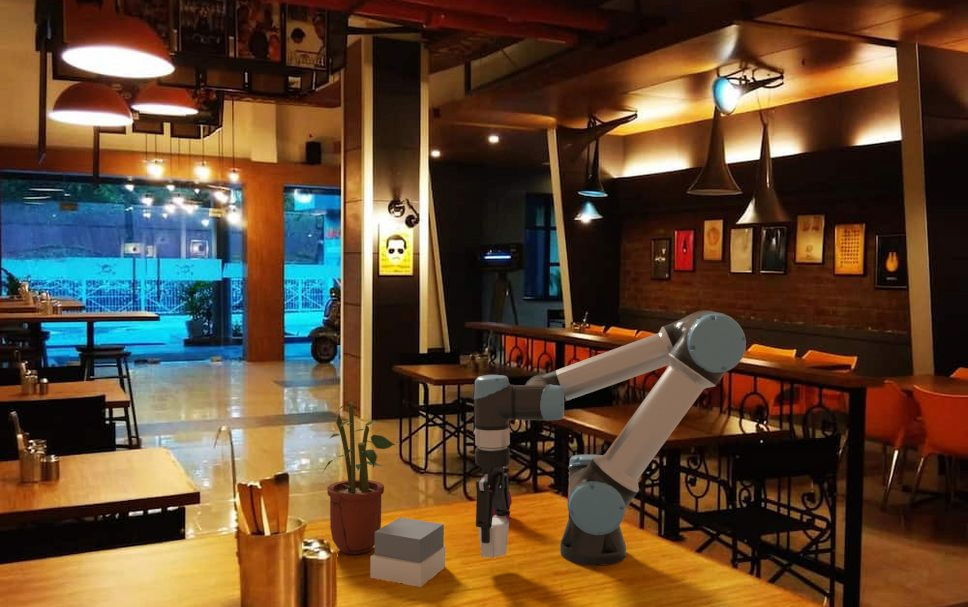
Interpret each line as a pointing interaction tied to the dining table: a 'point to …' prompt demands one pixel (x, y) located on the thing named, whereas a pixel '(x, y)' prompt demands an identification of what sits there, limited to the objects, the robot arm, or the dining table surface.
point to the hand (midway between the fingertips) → (494, 550)
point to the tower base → (407, 568)
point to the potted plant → (356, 493)
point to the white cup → (499, 535)
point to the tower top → (409, 539)
